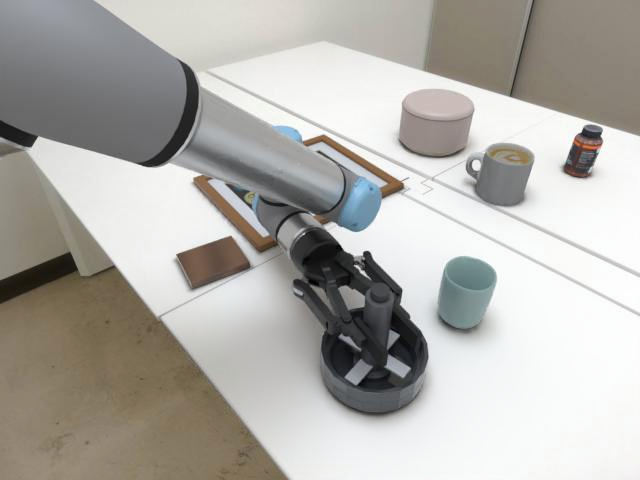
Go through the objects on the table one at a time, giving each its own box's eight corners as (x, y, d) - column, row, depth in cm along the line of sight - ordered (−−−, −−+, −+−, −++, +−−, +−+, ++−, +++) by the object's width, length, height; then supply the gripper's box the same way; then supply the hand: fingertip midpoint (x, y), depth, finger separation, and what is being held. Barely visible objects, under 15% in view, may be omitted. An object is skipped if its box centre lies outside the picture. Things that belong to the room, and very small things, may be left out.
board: (192, 289, 80) (190, 283, 79) (177, 260, 86) (175, 254, 85) (250, 267, 84) (249, 261, 83) (232, 241, 90) (231, 235, 89)
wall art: (404, 183, 104) (259, 246, 87) (403, 188, 105) (259, 252, 88) (323, 133, 123) (192, 177, 106) (323, 138, 124) (193, 183, 107)
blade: (382, 414, 60) (394, 339, 50) (319, 369, 66) (317, 293, 56) (424, 361, 67) (441, 284, 57) (363, 324, 72) (369, 248, 62)
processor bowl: (358, 436, 59) (360, 413, 56) (303, 354, 69) (302, 331, 66) (444, 385, 65) (451, 361, 61) (382, 316, 75) (385, 293, 71)
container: (384, 137, 125) (388, 95, 117) (435, 122, 131) (442, 82, 124) (427, 165, 112) (434, 121, 105) (481, 148, 119) (491, 105, 112)
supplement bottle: (595, 176, 108) (614, 132, 101) (573, 179, 107) (590, 135, 100) (579, 164, 113) (596, 121, 105) (557, 166, 112) (573, 123, 105)
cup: (426, 322, 74) (435, 277, 68) (445, 293, 79) (455, 249, 72) (472, 344, 70) (487, 299, 64) (489, 312, 75) (504, 268, 69)
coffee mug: (529, 192, 103) (543, 152, 97) (509, 211, 97) (522, 170, 91) (476, 171, 110) (485, 133, 104) (454, 188, 105) (462, 148, 98)
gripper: (355, 247, 78) (450, 341, 62) (261, 284, 71) (341, 400, 56) (357, 211, 73) (460, 303, 58) (257, 247, 67) (343, 362, 51)
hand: (401, 350), depth 57 cm, fingers open, 4 cm apart
